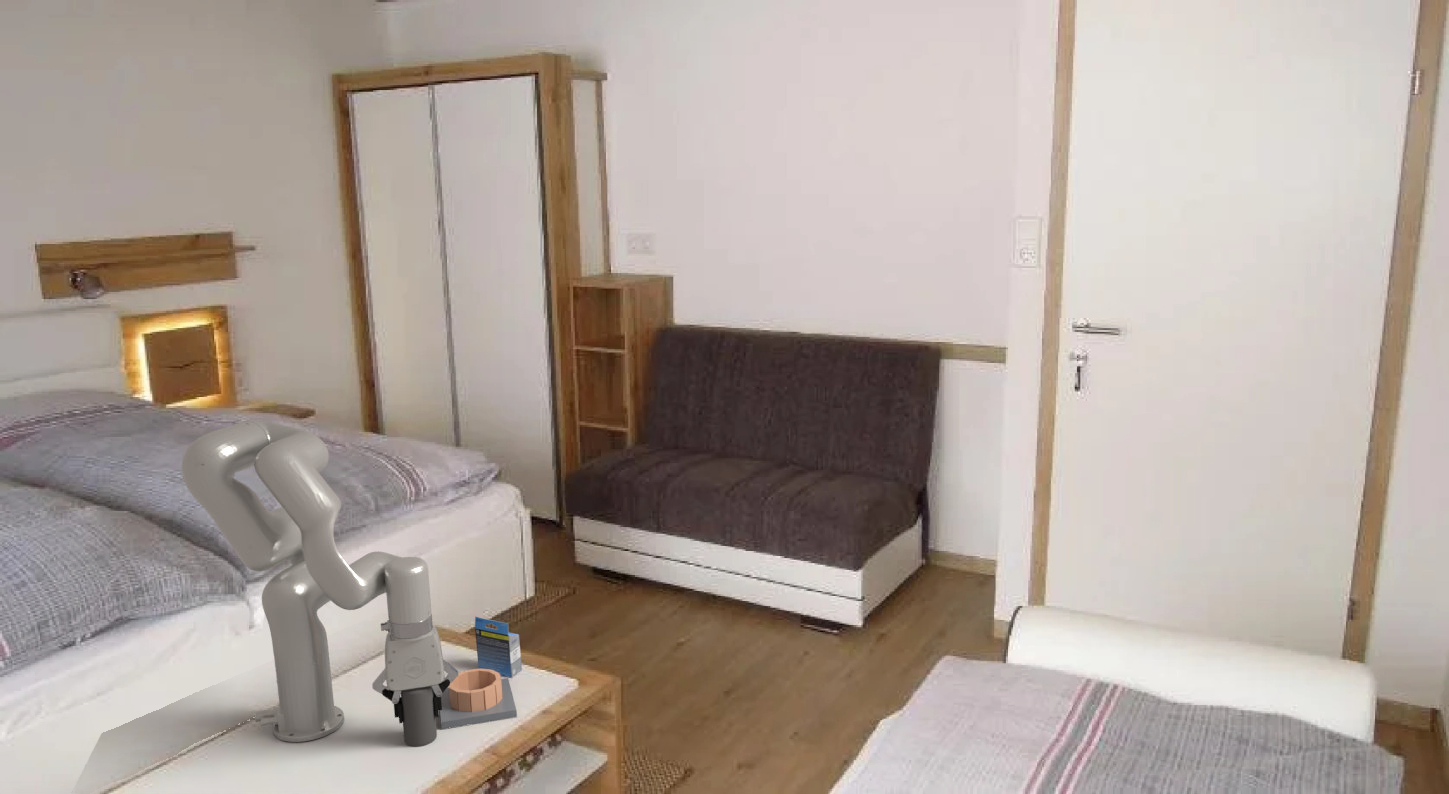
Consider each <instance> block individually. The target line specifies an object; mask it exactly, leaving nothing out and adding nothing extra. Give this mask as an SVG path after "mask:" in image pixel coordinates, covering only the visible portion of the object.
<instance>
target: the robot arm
mask: <svg viewBox="0 0 1449 794" xmlns="http://www.w3.org/2000/svg"><path fill="white" fill-rule="evenodd" d="M329 457H330V454H329V450H328V447H327V446H326V444H325V442H324V441H323V440H322V439H321V438H320V437H319V436H317V435H316V434H314V433H313V432H309V431H307V430H305V429H301V428H297V427H292V426H288V425H283V424H279V423H276V422H272V421H267V420H262V419H249V420H244V421H241V422H238V423H234V424H231V425H230V426H226V427H222V428H219V429H216V430H214V431H210V432H208V433H206V434H203V435H202V436H200V437H199V438H197V439H196V440H194V441H193V442H192V443H191V444H190V445H188V447H187V448H186V449H185V451H184V454H183V457H182V460H181V475H182V479H183V482H184V485H185V487H186V489H187V490H188V492H189V493H190V494H191V495H192V497H193V499H195V501H196V502H197V503H199V505H200V506H201V507H202V508H203V509H204V510H205V511H206V512H207V513H208V514H209V517H210V518H211V519H212V520H213V521H214V523H215V525H216V526H217V528H218V530H219V531H220V532H221V534H222V535H223V536H224V538H225V539H226V541H227V542H228V544H229V545H230V546H231V549H233V551H234V552H235V553H236V555H237V557H238V558H239V559H240V560H241V562H242V564H244V566H246V567H247V569H249V570H250V571H253V572H259V573H260V572H265V571H266V572H267V571H269V570H271V569H273V568H275V567H277V566H278V565H280V564H283V563H284V562H286V561H289V563H290V564H291V565H290V566H288V567H287V568H285V569H283V570H281V571H280V572H278V573H277V574H275V575H274V576H272V577H271V579H270V580H268V581H267V583H266V584H265V586H264V588H263V590H262V594H261V605H262V609H263V612H264V614H265V618H266V620H267V624H268V626H269V632H270V637H271V642H272V643H271V644H272V653H273V656H274V657H273V658H274V666H275V667H274V668H275V675H276V685H277V694H278V706H275V707H273V709H269V710H259V711H258V710H257V711H255V713H254V718H255V722H256V723H260V725H261V727H265V726H269V725H273V726H272V729H273V734H274V736H275V737H276V738H277V739H279V740H280V741H284V742H290V743H300V742H301V743H302V742H308V741H309V742H310V741H314V740H318V739H320V738H323V737H326V736H328V735H330V734H332V733H334V732H335V731H337V730H338V729H339V728H340V727H341V726H342V725H343V724H344V720H345V715H344V714H345V713H344V711H343V710H342V709H341V708H340V707H338V706H337V705H335V701H334V700H335V699H334V692H333V683H332V671H331V670H332V669H331V663H330V662H331V661H330V652H329V642H328V637H327V631H326V627H325V625H324V624H323V623H322V621H321V620H320V619H319V616H318V610H320V609H321V608H322V607H323V606H325V605H326V604H328V603H330V602H332V603H334V605H336V606H337V607H339V608H340V609H343V610H347V611H355V610H358V609H362V608H363V607H365V606H366V605H368V604H369V603H371V601H373V600H375V599H376V598H377V597H379V596H381V595H384V594H385V595H386V603H387V616H388V619H386V621H384V622H383V623H380V631H383V632H385V631H386V632H388V633H387V634H386V637H385V645H384V669H383V670H382V671H381V673H380V674H379V675H378V676H377V677H376V678H375V679H374V681H373V682H372V684H371V685H372V689H373V690H374V691H376V692H377V693H379V694H381V695H382V696H383V697H385V699H387V700H389V701H391V703H392V704H393V712H394V718H398V721H399V722H398V723H399V724H403V712H402V701H401V691H404V690H410V689H417V688H423V687H429V686H431V687H432V689H433V691H434V697H433V702H434V714H435V717H436V718H439V715H440V714H439V712H440V710H442V703H441V696H442V693H443V692H444V691H445V690H446V689H447V687H448V686H449V685H450V683H451V682H452V681H453V680H454V679H455V678H456V677H457V676H458V673H459V671H458V669H457V668H455V667H454V666H453V665H451V664H450V662H447V661H446V660H445V659H444V658H443V650H442V645H441V644H442V643H441V639H440V635H439V631H438V629H437V627H436V626H434V625H433V616H432V614H433V613H432V600H431V599H432V598H431V587H430V576H429V567H428V563H427V562H426V560H424V559H423V558H421V557H416V556H405V557H403V556H398V555H394V554H391V553H387V552H385V551H371V552H369V553H366V554H365V555H363V556H362V557H359V558H358V559H357V560H355V561H354V562H352V563H350V564H348V562H347V561H346V560H345V558H344V557H343V556H342V555H341V552H340V551H339V548H338V547H337V545H336V542H335V535H334V531H335V530H334V529H335V523H336V521H337V517H338V515H339V513H340V510H341V508H342V501H341V499H340V498H339V496H338V495H337V493H335V491H334V490H333V489H332V487H331V486H330V485H329V484H328V482H326V480H325V479H324V477H322V475H321V474H320V473H321V472H322V471H323V470H324V469H325V468H326V466H327V465H328V463H329V459H330V458H329ZM253 466H254V467H253ZM251 467H253V468H254V470H255V473H256V474H257V476H258V478H259V479H260V480H261V482H262V483H263V484H264V485H265V488H267V490H268V491H269V493H271V495H272V496H273V497H274V499H275V500H276V501H277V503H279V505H280V506H281V507H279V508H277V509H274V510H272V511H269V509H268V508H267V507H266V505H264V503H263V502H262V500H261V499H260V497H259V496H258V495H257V493H256V492H255V491H254V490H253V489H252V488H250V487H249V486H248V485H247V484H245V483H243V482H242V481H239V480H238V479H235V476H234V475H235V474H236V473H238V472H241V471H244V470H247V469H249V468H251ZM445 673H446V674H447V675H446V676H445ZM384 683H385V684H386V685H385V684H384Z"/></svg>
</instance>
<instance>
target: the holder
mask: <svg viewBox="0 0 1449 794" xmlns="http://www.w3.org/2000/svg"><path fill="white" fill-rule="evenodd" d="M501 676H502V675H500V673H498V672H496V671H494V670H491V669H481V668H480V669H479V668H472V669H468V670H463V671H461V672H458V676H457V677H456V678H455V679H454V680H453V681H452V682H451V683H450V685H449V686H448V687H447V689H446V690H445V691H444V692H443V693H442V696H441V703H442V710H439V713H440V714H439V715H440V724H441V730H447V729H446V728H448V729H450V728H449V727H454V728H456V727H455V726H460V727H464V726H463V725H466V726H468V725H467V724H472V725H478V724H483V723H490V722H496V721H500V720H501V721H502V720H506V719H513V718H517V717H518V716H517V715H518V713H517V707H516V704H515V700H514V695H513V691H512V687H511V684H510V680H509V677H506V678H505V677H504V678H502V677H501ZM489 721H490V722H489ZM477 723H478V724H477Z"/></svg>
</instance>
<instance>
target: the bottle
mask: <svg viewBox="0 0 1449 794" xmlns="http://www.w3.org/2000/svg"><path fill="white" fill-rule="evenodd" d="M400 697H401V701H402V712H403V722H402V727H403V740H404V743H405V744H406V745H408V746H409V747H410V746H411V747H421V746H425V745H426V746H427V745H429V744H431V743H433V742H434V741H435V740H436V739H437V735H438V734H437V733H438V732H437V717H435V714H434V702H433V697H434V691H433V689H432V687H431V686H429V687H423V688H417V689H410V690H404V691H401V694H400Z"/></svg>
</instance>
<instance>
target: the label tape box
mask: <svg viewBox="0 0 1449 794" xmlns="http://www.w3.org/2000/svg"><path fill="white" fill-rule="evenodd" d="M486 625H488V626H490V625H492V626H493V627H496V628H492V627H487V626H486ZM474 633H475V643H476V644H475V645H476V655H477V656H476V657H477V664H478V665H477V666H478V668H477V669H480V668H481V669H491V670H494V671H496V672H498V673H500V676H503V677H508V676H509V677H508V678H514V677H515V676H516V675H518V674H519V673H521V672H522V670H523V666H522V665H523V664H522V655H521V653H522V652H521V645H520V634H518V633H513V632H509V623H508V622H502V621H498V620H493V619H489V618H483V617H479V616H476V615H475V619H474ZM517 673H518V674H517ZM513 676H514V677H513Z"/></svg>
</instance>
